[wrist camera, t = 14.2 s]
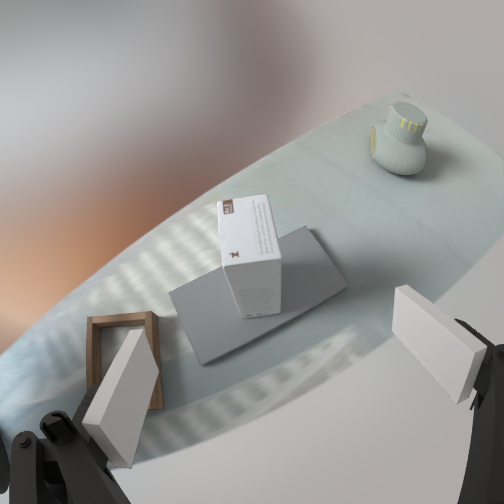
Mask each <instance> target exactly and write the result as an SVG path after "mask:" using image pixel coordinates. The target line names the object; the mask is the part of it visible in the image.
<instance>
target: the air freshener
mask: <svg viewBox="0 0 504 504" xmlns="http://www.w3.org/2000/svg"><path fill="white" fill-rule="evenodd" d="M426 124H427V118H426V116H425V114H424V113H423V112H422V111H421V110H420V109H419V108H417V107H416V106H414V105H412V104H409V103H406V102H395V103H393V104H391V107H390V110H389V113H388V117H387V120H382V121H378V122H376V123H374V124H373V125H372V128H371V134H370V153H371V157H372V159H373V160H374V161H375V162H376V163H377V164H378V165H380V166H381V167H382V168H384V169H386V170H388V171H390V172H392V173H395V174H399V175H413V174H416V173H419V172H420V171H422V170H423V169H424V167H425V164H426V146H425V142H424V139H423V138H422V134H423V132H424V129H425V127H426Z"/></svg>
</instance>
